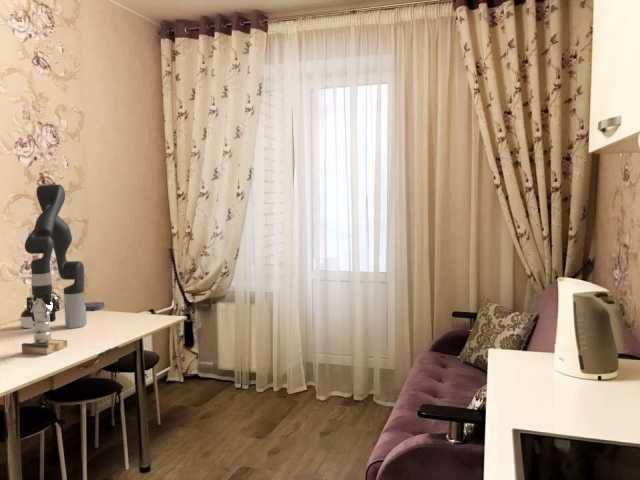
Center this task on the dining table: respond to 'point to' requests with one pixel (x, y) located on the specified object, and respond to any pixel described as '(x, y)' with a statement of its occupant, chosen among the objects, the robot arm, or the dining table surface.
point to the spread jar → (27, 319)
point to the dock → (43, 347)
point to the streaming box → (94, 306)
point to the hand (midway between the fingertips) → (43, 321)
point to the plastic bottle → (41, 323)
